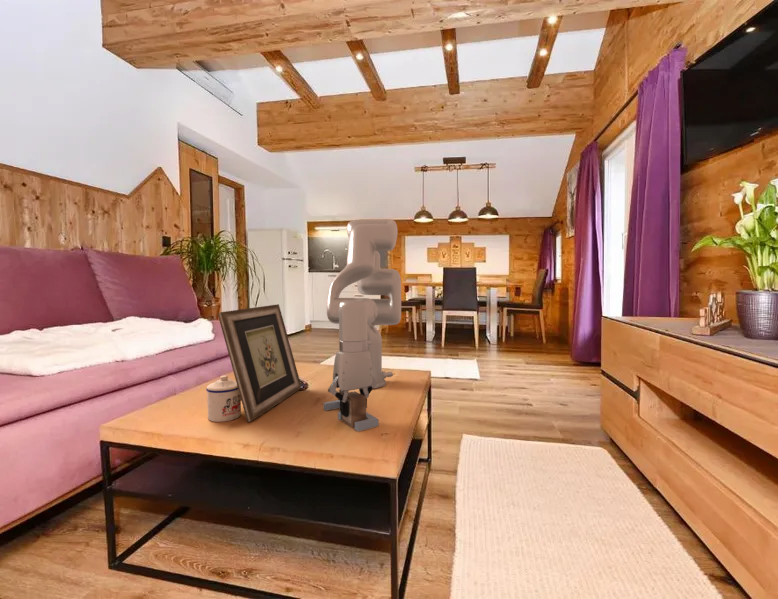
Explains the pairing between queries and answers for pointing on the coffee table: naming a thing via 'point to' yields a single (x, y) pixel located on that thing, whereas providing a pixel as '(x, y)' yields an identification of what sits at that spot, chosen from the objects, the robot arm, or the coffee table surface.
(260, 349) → the picture frame
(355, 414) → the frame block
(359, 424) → the grey e-shaped bracket
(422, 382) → the coffee table surface
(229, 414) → the teacup with lid
